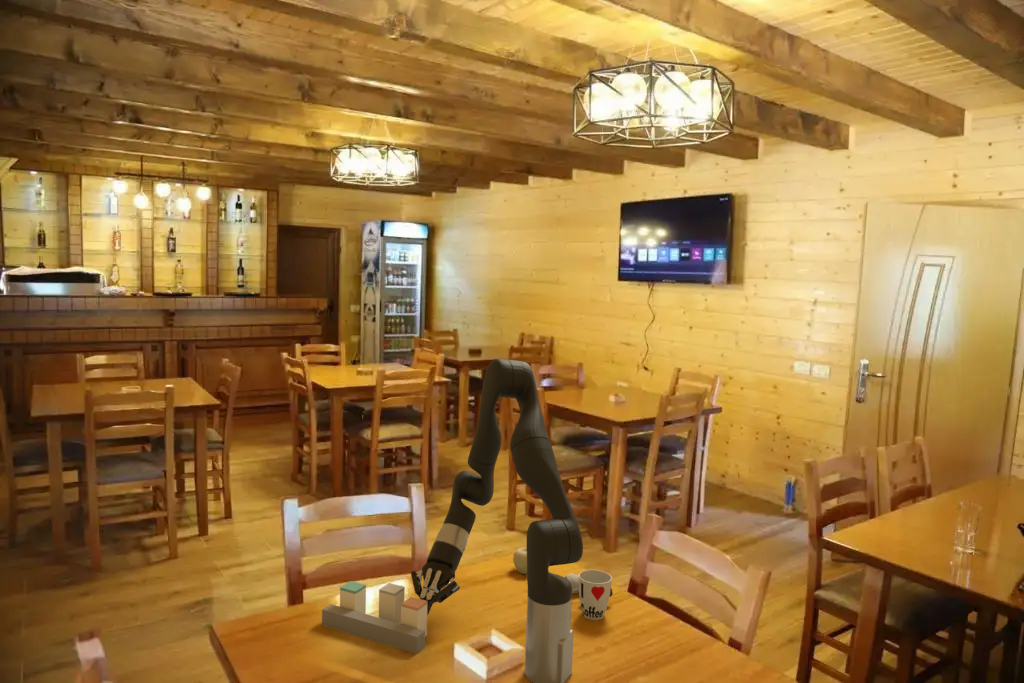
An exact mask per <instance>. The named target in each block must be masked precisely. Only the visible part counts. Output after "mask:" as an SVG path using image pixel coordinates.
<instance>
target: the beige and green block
mask: <svg viewBox="0 0 1024 683" xmlns="http://www.w3.org/2000/svg"><path fill="white" fill-rule="evenodd" d="M366 596H367V584H364V583H360V582H356V581H352V580H350V581H348V582H347V583H345V584H344V585H342V586H340V587H339V607H343V608H346V609H350V610H353V611H357V612H360V613H364V614H367V613H366V610H367V608H366V605H367V603H366V602H367V599H366V598H367V597H366Z"/></svg>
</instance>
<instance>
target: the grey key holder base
mask: <svg viewBox="0 0 1024 683" xmlns="http://www.w3.org/2000/svg"><path fill="white" fill-rule="evenodd" d="M321 623H322V624H321V626H323V627H327V628H329V629H333V630H337V631H340V632H344V633H346V634H349V635H353V636H357V637H360V638H363V639H366V640H370V641H371V642H375V643H379V644H381V645H382V644H383V645H385V646H389V647H392V648H396V649H399V650H402V651H406V652H410V653H413V654H416V655H418V654H420V652H422V651H423V650H424V649H425V647H426V643H425V642H426V641H425V640H426V637H425V631H423V630H420V629H416V628H413V627H409V626H406V625H402V624H401V623H400V624H399V623H395V622H392V621H388V620H385V619H381V618H379V616H375V615H374V616H373V615H371V614H368V613H366V614H364V613H360V612H357V611H353V610H350V609H346V608H343V607H340V605H335V604H333V603H331V604H329V605H326V607H324V608H322V609H321Z"/></svg>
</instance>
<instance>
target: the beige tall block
mask: <svg viewBox="0 0 1024 683" xmlns="http://www.w3.org/2000/svg"><path fill="white" fill-rule="evenodd" d="M405 591H406V590H405V586H403V585H398V584H394V583H391V582H388V583H387V584H385V585H384V586H382V587H380V588H379V589H378V618H381V619H385V620H388V621H392V622H395V623H399V624H401V604H402V603H403V602H404V601H405Z"/></svg>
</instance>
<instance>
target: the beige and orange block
mask: <svg viewBox="0 0 1024 683" xmlns="http://www.w3.org/2000/svg"><path fill="white" fill-rule="evenodd" d="M427 602H428V601H426V600H422V599H420V598H418V597H414V596H410V597H408V598H407V599H406V600H404V602H403V603H402V604H401V623H400V624H402V625H406V626H409V627H413V628H416V629H420V630H423V631H425V638H426V637H427V636H428V634H427V633H428V616H427Z"/></svg>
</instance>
